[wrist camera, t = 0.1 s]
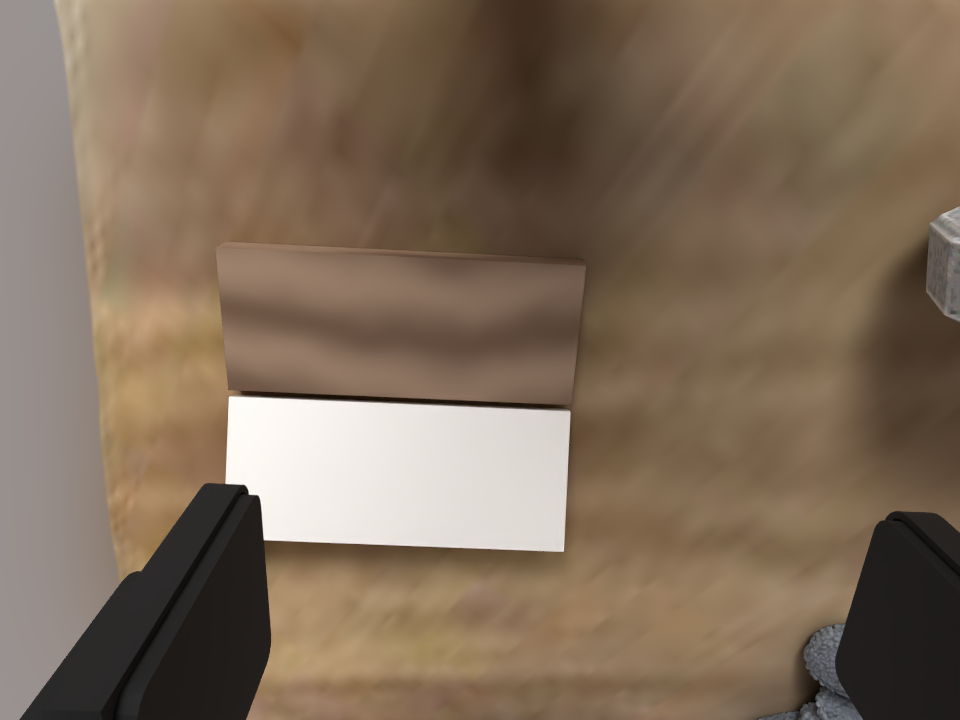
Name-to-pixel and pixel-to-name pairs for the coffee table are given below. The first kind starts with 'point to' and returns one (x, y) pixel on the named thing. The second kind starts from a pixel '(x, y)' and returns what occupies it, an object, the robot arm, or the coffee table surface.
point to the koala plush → (824, 681)
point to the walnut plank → (400, 322)
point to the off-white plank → (402, 471)
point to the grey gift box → (945, 263)
